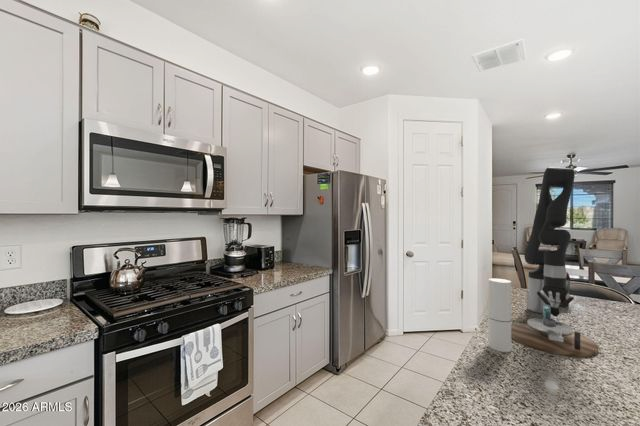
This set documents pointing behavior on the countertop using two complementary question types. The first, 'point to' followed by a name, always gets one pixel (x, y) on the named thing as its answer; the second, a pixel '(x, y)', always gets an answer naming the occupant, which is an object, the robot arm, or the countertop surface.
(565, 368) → the countertop surface
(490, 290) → the cylindrical container
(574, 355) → the base plate
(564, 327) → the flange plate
